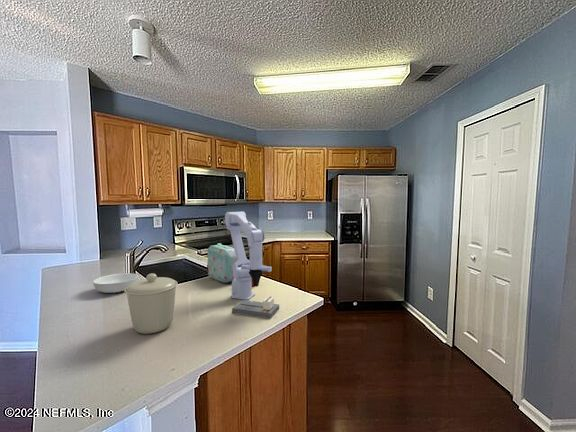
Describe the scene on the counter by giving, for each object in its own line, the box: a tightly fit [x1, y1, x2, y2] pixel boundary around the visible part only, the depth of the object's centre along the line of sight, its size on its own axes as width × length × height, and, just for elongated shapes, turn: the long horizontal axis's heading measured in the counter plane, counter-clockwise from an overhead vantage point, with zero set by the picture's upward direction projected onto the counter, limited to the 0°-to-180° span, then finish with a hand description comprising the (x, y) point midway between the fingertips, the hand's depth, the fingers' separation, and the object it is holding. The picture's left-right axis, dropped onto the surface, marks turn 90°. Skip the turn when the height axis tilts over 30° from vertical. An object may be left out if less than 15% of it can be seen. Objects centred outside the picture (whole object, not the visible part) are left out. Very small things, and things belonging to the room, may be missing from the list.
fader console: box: [231, 299, 280, 319], centre depth 120 cm, size 18×10×2 cm, turn 71°
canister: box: [123, 273, 179, 335], centre depth 104 cm, size 18×18×21 cm
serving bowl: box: [92, 272, 140, 294], centre depth 148 cm, size 21×21×7 cm
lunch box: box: [206, 242, 237, 284], centre depth 166 cm, size 27×10×21 cm, turn 43°
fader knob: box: [262, 295, 275, 310], centre depth 118 cm, size 3×5×4 cm, turn 161°
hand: (256, 285), depth 125 cm, fingers closed
